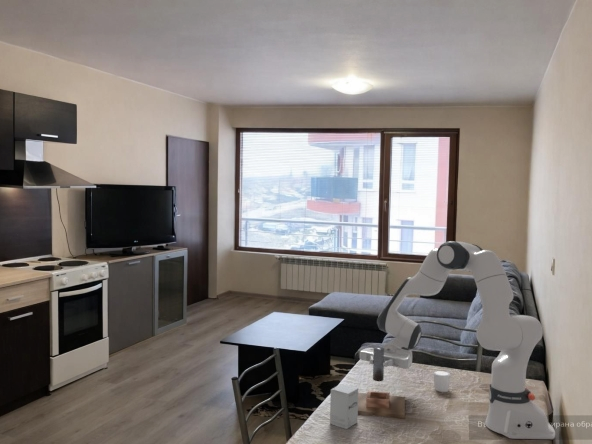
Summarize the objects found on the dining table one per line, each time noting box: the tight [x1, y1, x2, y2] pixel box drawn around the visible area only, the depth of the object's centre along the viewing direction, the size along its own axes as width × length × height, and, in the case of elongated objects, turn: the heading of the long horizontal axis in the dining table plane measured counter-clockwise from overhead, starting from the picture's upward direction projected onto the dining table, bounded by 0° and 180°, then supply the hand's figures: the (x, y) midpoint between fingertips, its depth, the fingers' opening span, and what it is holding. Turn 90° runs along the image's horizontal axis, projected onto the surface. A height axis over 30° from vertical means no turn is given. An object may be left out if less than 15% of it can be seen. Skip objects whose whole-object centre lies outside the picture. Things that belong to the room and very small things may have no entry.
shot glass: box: [433, 370, 451, 393], centre depth 223 cm, size 7×7×7 cm
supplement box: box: [329, 383, 359, 430], centre depth 189 cm, size 7×7×13 cm
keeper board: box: [358, 390, 406, 419], centre depth 204 cm, size 20×18×4 cm
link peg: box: [372, 346, 385, 382], centre depth 204 cm, size 4×4×12 cm
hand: (377, 363), depth 203 cm, fingers closed on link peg, 4 cm apart
